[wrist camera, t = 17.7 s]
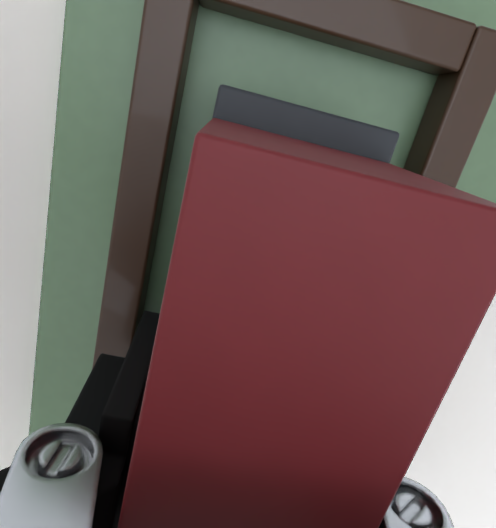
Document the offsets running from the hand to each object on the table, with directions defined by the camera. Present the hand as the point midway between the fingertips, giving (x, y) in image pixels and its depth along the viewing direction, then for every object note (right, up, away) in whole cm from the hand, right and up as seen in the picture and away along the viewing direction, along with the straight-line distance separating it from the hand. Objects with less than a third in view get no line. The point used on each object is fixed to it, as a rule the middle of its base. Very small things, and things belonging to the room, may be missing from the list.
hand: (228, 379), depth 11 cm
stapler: (0, 0, +1) cm, 1 cm away
